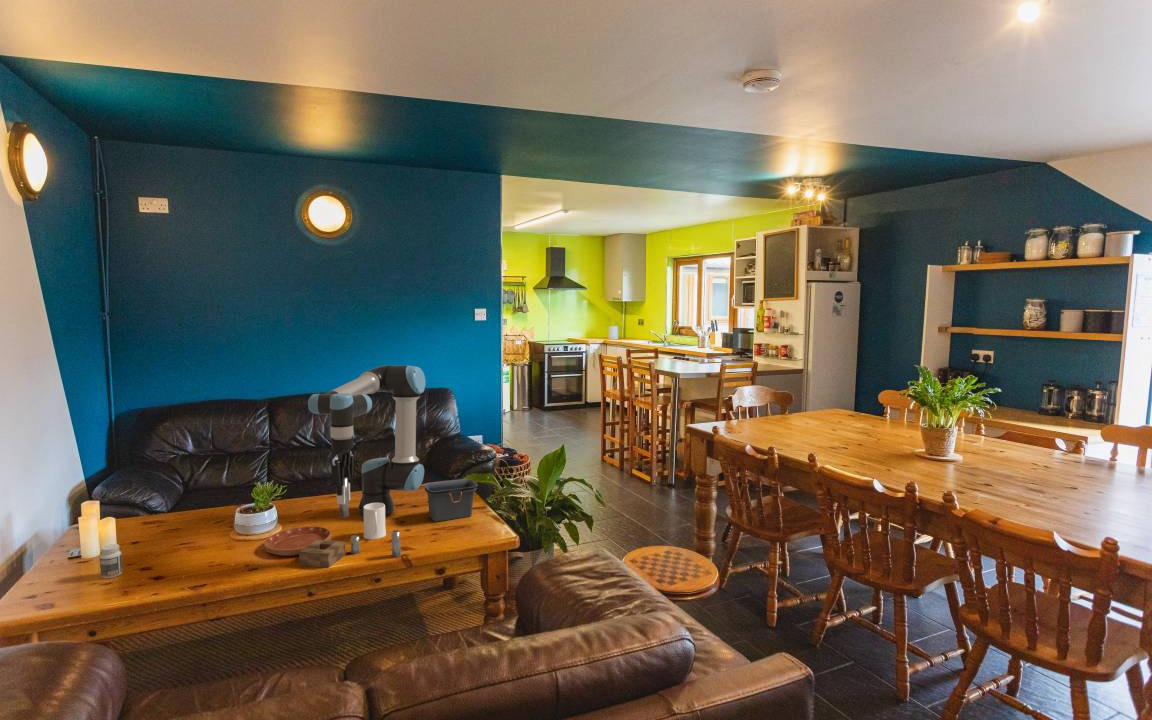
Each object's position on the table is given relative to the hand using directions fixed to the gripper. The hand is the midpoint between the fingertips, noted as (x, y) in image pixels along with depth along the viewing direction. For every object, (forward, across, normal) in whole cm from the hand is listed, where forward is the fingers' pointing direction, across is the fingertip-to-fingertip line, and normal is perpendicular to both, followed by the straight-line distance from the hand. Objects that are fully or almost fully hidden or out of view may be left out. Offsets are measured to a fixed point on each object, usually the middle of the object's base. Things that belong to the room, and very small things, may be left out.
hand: (343, 501), depth 213 cm
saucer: (+21, -8, -22) cm, 32 cm away
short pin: (+21, -5, +1) cm, 21 cm away
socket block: (+21, +3, -7) cm, 22 cm away
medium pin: (+21, -4, +17) cm, 27 cm away
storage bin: (+21, -45, +25) cm, 56 cm away
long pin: (+5, 0, 0) cm, 5 cm away
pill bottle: (+21, +24, -70) cm, 76 cm away
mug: (+21, -20, +2) cm, 29 cm away
